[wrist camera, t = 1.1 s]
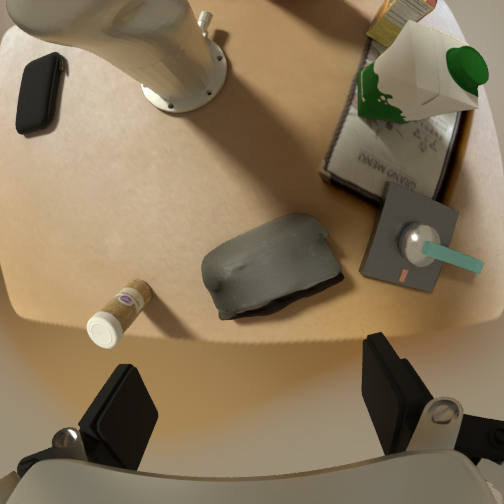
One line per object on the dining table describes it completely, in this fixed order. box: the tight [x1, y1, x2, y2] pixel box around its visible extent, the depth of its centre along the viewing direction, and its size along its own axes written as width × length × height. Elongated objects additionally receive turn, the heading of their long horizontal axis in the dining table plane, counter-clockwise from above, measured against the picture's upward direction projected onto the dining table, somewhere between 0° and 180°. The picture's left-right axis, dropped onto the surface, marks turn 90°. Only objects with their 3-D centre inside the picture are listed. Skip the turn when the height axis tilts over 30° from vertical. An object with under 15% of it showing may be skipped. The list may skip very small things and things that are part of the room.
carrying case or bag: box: [16, 52, 64, 135], centre depth 34 cm, size 11×3×15 cm
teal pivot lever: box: [399, 222, 484, 274], centre depth 37 cm, size 6×16×4 cm, turn 76°
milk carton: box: [357, 20, 489, 124], centre depth 25 cm, size 9×9×20 cm
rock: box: [201, 213, 344, 320], centre depth 38 cm, size 18×11×8 cm, turn 115°
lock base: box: [359, 182, 459, 292], centre depth 39 cm, size 14×14×2 cm
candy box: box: [366, 0, 437, 47], centre depth 24 cm, size 9×4×15 cm, turn 154°
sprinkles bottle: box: [87, 280, 152, 348], centre depth 37 cm, size 5×5×14 cm
